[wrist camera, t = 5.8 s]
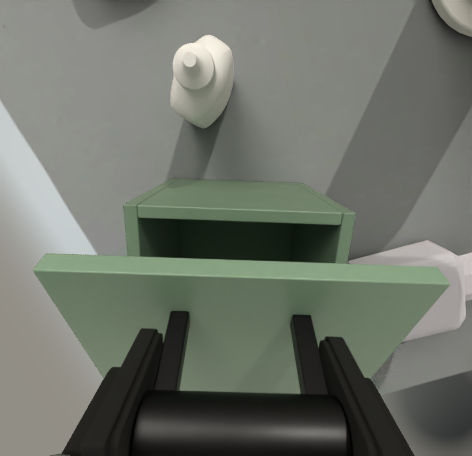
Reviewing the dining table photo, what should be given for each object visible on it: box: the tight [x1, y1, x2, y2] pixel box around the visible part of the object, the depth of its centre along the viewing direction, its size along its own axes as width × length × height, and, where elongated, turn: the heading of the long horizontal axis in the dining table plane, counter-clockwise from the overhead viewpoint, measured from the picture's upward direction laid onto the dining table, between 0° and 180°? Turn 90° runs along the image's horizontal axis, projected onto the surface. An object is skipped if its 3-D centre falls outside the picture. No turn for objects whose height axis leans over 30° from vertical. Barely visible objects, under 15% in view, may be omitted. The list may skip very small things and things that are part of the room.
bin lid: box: [33, 254, 450, 456], centre depth 13 cm, size 18×14×5 cm
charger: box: [347, 240, 472, 342], centre depth 29 cm, size 5×9×15 cm
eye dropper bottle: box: [170, 35, 234, 129], centre depth 20 cm, size 4×6×12 cm
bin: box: [123, 178, 356, 264], centre depth 24 cm, size 17×14×13 cm
